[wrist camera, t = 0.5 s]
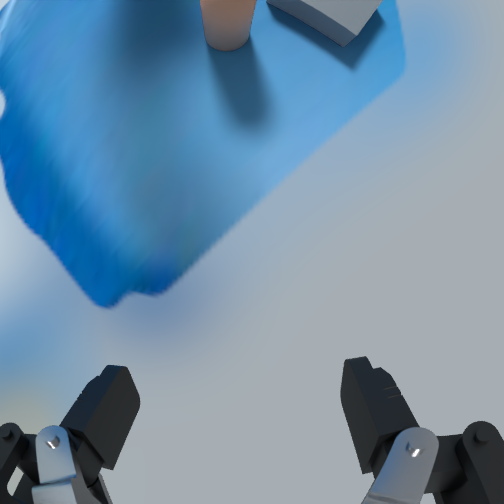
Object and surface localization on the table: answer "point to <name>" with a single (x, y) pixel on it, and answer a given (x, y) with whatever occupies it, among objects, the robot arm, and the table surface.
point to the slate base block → (331, 15)
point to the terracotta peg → (227, 22)
